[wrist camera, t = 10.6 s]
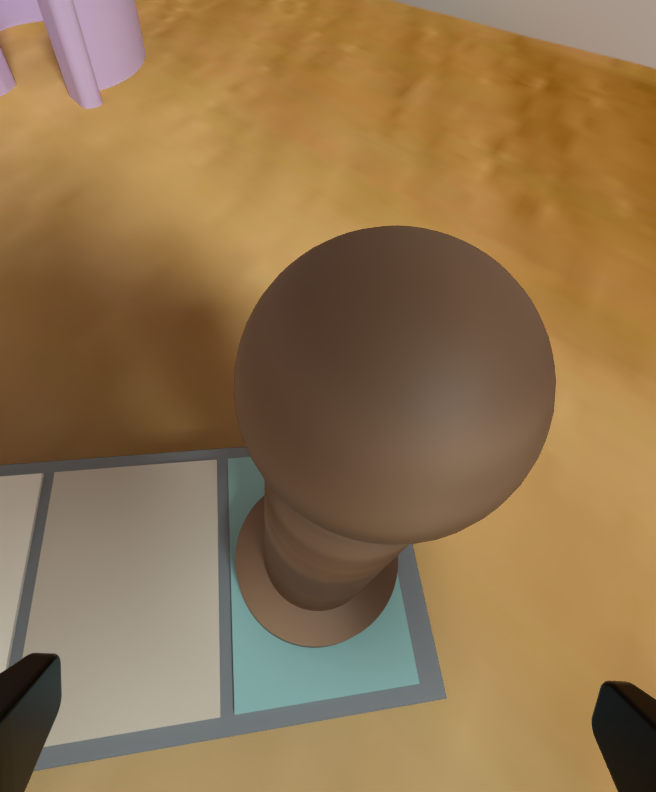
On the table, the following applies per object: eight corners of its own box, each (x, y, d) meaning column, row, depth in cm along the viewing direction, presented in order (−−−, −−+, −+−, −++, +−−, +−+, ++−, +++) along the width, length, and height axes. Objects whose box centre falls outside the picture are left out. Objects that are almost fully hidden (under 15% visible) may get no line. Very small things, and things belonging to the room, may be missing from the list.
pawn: (328, 687, 14) (588, 712, 3) (203, 573, 15) (35, 276, 4) (417, 549, 16) (740, 271, 5) (303, 461, 18) (369, 87, 6)
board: (382, 448, 20) (389, 434, 19) (434, 696, 15) (448, 698, 14) (-133, 489, 17) (-163, 475, 15) (-260, 817, 12) (-315, 832, 11)
